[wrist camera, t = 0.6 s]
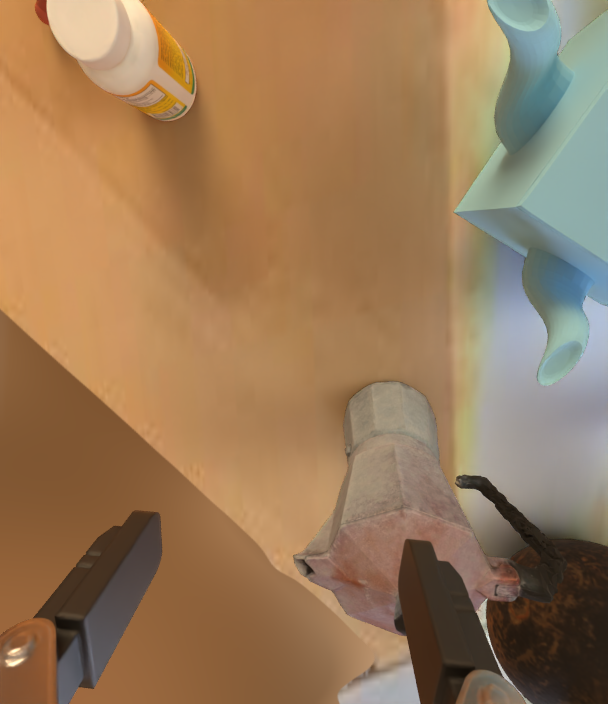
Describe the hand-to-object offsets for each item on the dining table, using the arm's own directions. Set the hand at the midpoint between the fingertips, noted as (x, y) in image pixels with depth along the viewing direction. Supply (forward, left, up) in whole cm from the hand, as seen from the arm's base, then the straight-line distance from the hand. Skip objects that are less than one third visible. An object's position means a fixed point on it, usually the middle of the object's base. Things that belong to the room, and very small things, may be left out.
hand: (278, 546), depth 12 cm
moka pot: (+1, +11, -24) cm, 26 cm away
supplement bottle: (-6, -23, -24) cm, 33 cm away
